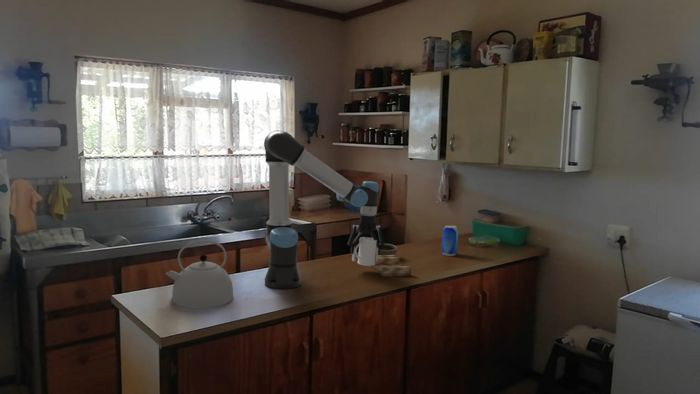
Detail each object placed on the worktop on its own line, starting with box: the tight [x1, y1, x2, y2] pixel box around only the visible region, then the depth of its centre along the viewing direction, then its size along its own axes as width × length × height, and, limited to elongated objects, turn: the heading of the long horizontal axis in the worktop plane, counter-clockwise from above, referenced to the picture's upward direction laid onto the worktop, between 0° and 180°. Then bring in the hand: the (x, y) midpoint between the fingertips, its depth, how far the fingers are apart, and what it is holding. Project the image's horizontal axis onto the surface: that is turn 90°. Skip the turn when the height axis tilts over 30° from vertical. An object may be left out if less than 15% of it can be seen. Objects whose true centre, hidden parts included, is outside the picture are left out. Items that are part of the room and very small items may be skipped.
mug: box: [355, 236, 378, 267], centre depth 240 cm, size 12×8×12 cm
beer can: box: [440, 224, 459, 257], centre depth 282 cm, size 8×8×16 cm
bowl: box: [376, 242, 398, 256], centre depth 269 cm, size 14×18×10 cm
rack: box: [371, 254, 412, 277], centre depth 247 cm, size 14×22×4 cm, turn 15°
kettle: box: [165, 240, 234, 309], centre depth 194 cm, size 25×23×22 cm
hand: (364, 260), depth 240 cm, fingers closed on mug, 10 cm apart
